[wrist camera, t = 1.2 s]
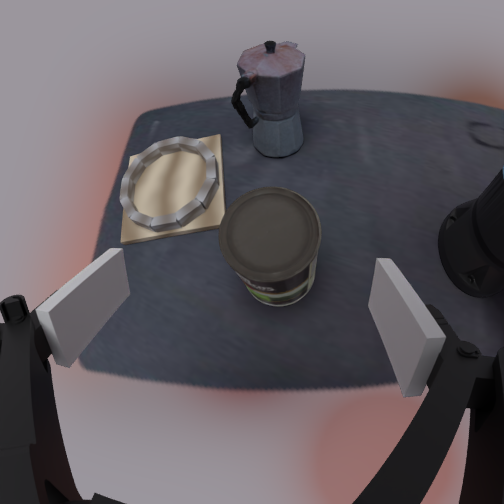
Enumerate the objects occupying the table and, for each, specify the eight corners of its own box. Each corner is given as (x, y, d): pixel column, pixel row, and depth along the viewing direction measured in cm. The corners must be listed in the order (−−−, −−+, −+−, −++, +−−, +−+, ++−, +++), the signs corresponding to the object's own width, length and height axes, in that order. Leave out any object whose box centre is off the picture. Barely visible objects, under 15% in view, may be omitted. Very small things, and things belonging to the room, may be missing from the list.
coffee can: (284, 322, 41) (276, 303, 28) (229, 276, 45) (198, 239, 32) (330, 264, 43) (342, 221, 30) (274, 223, 46) (262, 170, 33)
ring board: (221, 138, 54) (216, 125, 50) (227, 226, 47) (221, 216, 44) (132, 160, 56) (124, 149, 52) (124, 244, 49) (113, 236, 46)
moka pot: (321, 121, 52) (321, 29, 33) (281, 184, 48) (266, 88, 30) (275, 106, 55) (261, 18, 36) (232, 163, 51) (198, 73, 33)
